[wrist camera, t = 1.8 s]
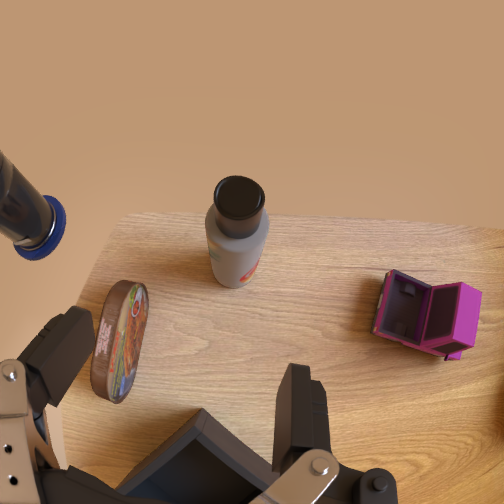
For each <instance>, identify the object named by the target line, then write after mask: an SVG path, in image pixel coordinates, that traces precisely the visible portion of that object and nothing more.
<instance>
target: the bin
mask: <svg viewBox="0 0 504 504" xmlns="http://www.w3.org/2000/svg"><path fill="white" fill-rule="evenodd" d="M279 477H280V473H275V472H272V465H271V464H269V463H268V462H267V461H266V460H264V459H263V458H262V457H260V456H259V455H258V454H256V453H255V452H254V451H253V450H251V449H250V448H249V447H248V446H246V445H245V444H244V443H243V442H241V441H240V440H239V439H238V438H237V437H235V436H234V435H233V434H232V433H231V432H229V431H228V430H227V429H226V428H225V427H224V426H223V425H221V424H220V423H219V422H218V421H217V420H216V419H215V418H213V417H212V416H211V415H210V414H209V413H208V412H207V411H206V410H205V409H204V408H202V409H200V410H199V411H198V412H197V413H196V414H195V415H194V416H193V417H192V418H191V419H190V420H189V421H187V422H186V423H185V424H184V425H183V426H182V427H181V428H180V429H179V430H177V431H176V432H175V433H174V434H173V435H172V436H171V437H170V438H168V439H167V440H166V441H165V442H164V443H163V444H162V445H160V446H159V447H158V448H157V449H156V450H155V451H153V452H152V453H151V454H150V455H149V456H147V457H146V458H145V459H144V460H143V461H141V462H140V463H139V464H138V465H137V466H135V467H134V468H133V469H132V470H131V472H130V473H129V474H128V475H127V476H126V477H125V478H124V480H123V481H122V482H121V483H120V484H119V485H118V486H117V487H116V489H115V490H116V491H117V492H119V493H120V494H122V495H125V496H133V497H141V498H152V499H159V500H162V501H166V502H169V503H173V504H249V503H250V502H251V501H252V500H254V499H255V498H256V497H257V496H258V495H260V494H261V493H263V492H264V491H265V490H266V489H268V488H269V487H270V486H271V485H272V484H273V483H274V482H275V481H276V480H277V479H278V478H279Z"/></svg>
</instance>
